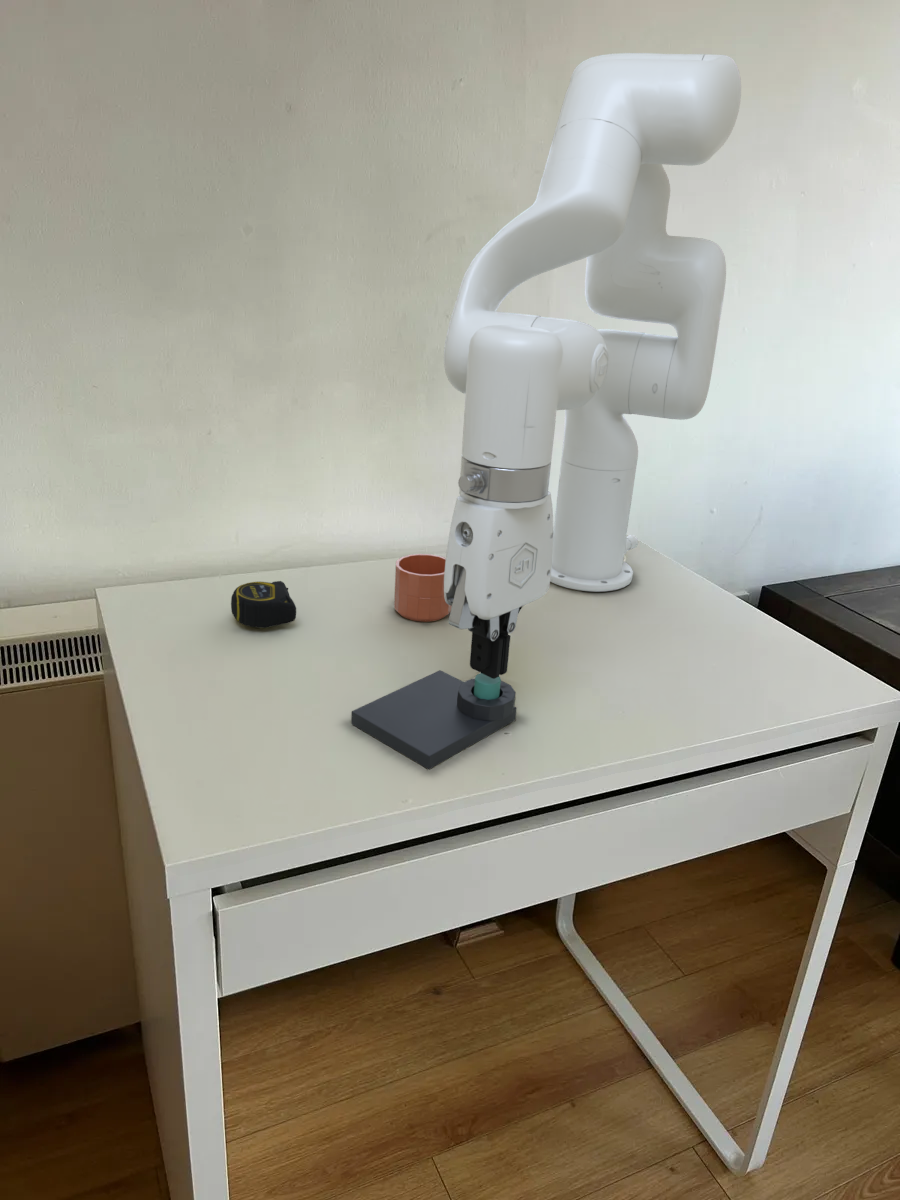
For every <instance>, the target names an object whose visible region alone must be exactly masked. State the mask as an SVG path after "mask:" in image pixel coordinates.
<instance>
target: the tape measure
mask: <svg viewBox="0 0 900 1200" xmlns="http://www.w3.org/2000/svg"><path fill="white" fill-rule="evenodd" d="M230 609H231V610H230V611H231V614H232V616H233V617H234V619H235V620H236V621H237V622H238V623H240V624H242V625H244V626H247V627H251V628H258V629H260V628H261V629H265V628H271V627H276V626H281V625H285V624H290V623H293V622H294V621H295V620H296V618H297V607H296V603H295V602H294V600H293V599H292V597H291V595H290V592H289V587H287V586H286V583H285V582H283V581H281V580H278V581H277V580H276V581H272V582H268V581H251V582H246V583H244V584H240V585H239V586H238V587H236V588H235V589H234V590H233V593H232V595H231V597H230Z"/></svg>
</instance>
